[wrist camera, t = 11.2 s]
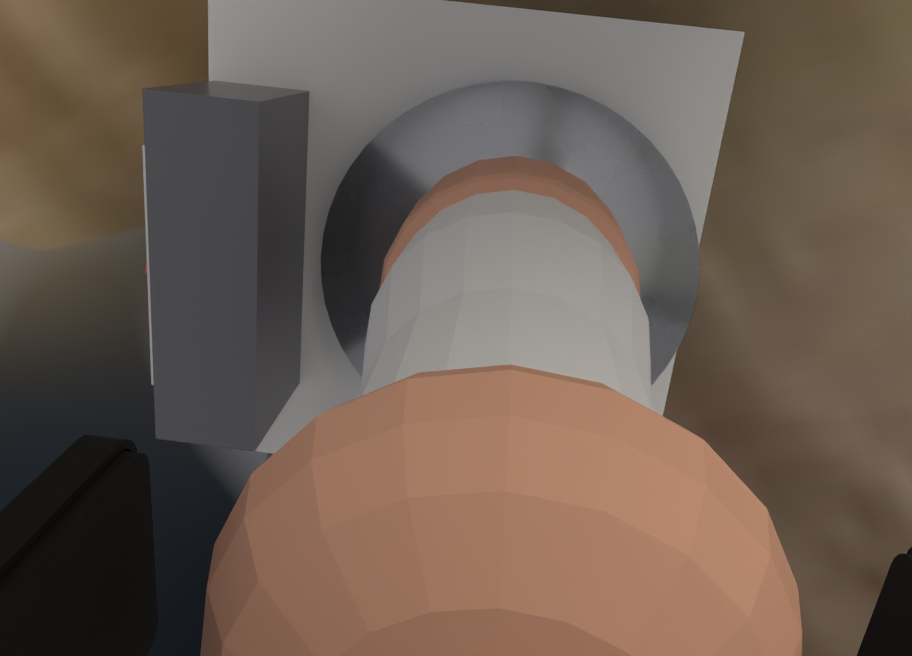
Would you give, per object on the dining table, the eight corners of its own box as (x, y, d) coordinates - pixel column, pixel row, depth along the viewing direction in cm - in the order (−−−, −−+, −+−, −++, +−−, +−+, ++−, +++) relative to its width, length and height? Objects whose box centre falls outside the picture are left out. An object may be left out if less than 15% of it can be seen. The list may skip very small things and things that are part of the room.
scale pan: (729, 102, 23) (738, 104, 23) (654, 452, 28) (659, 467, 27) (336, 59, 24) (329, 60, 23) (320, 410, 28) (313, 423, 27)
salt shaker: (597, 126, 23) (876, 409, 5) (647, 348, 25) (964, 1092, 7) (365, 191, 24) (-74, 611, 6) (433, 398, 26) (252, 1146, 8)
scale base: (720, 33, 26) (803, 28, 18) (633, 460, 31) (669, 591, 24) (233, -18, 26) (119, -44, 19) (233, 409, 32) (144, 522, 24)
